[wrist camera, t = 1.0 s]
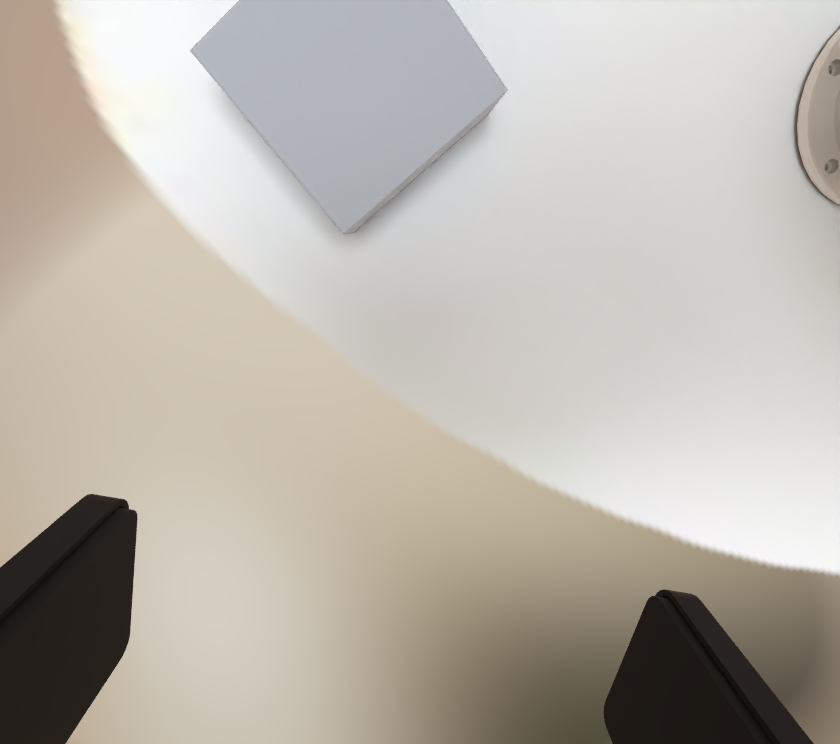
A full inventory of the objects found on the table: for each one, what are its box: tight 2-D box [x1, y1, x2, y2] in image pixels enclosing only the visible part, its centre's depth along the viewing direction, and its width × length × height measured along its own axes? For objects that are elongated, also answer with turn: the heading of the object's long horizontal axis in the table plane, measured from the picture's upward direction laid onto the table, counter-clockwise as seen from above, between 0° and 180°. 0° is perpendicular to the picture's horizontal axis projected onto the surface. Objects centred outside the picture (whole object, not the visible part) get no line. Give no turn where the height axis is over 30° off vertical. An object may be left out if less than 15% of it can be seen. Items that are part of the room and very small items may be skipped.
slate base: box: [190, 0, 507, 234], centre depth 27 cm, size 11×11×6 cm
